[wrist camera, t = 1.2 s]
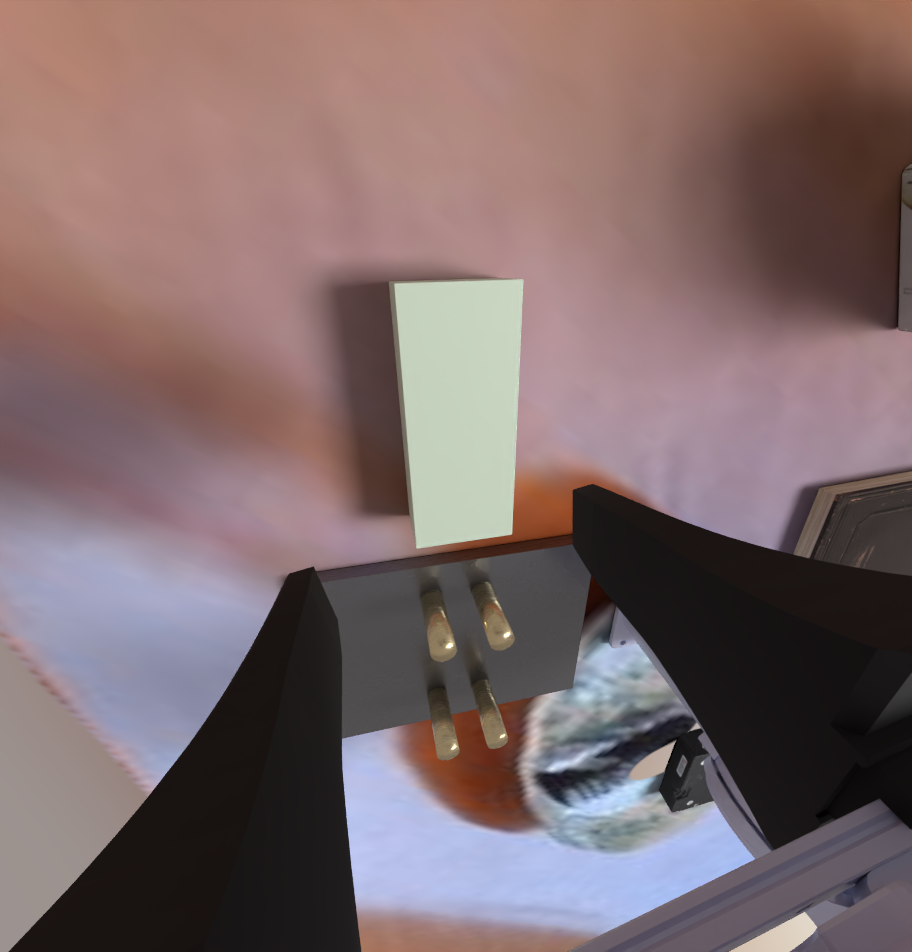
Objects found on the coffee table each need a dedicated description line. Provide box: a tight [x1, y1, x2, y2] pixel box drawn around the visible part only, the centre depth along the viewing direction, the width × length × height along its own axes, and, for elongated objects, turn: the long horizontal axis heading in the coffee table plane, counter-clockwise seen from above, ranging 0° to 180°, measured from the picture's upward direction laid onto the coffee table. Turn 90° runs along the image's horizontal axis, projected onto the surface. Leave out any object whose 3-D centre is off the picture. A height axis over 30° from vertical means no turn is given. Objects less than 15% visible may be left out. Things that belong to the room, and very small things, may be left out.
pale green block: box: [389, 278, 523, 548], centre depth 20 cm, size 5×12×4 cm, turn 0°
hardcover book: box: [793, 471, 912, 576], centre depth 35 cm, size 16×23×2 cm
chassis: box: [316, 534, 591, 760], centre depth 26 cm, size 18×14×5 cm
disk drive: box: [659, 728, 714, 812], centre depth 44 cm, size 10×3×15 cm
